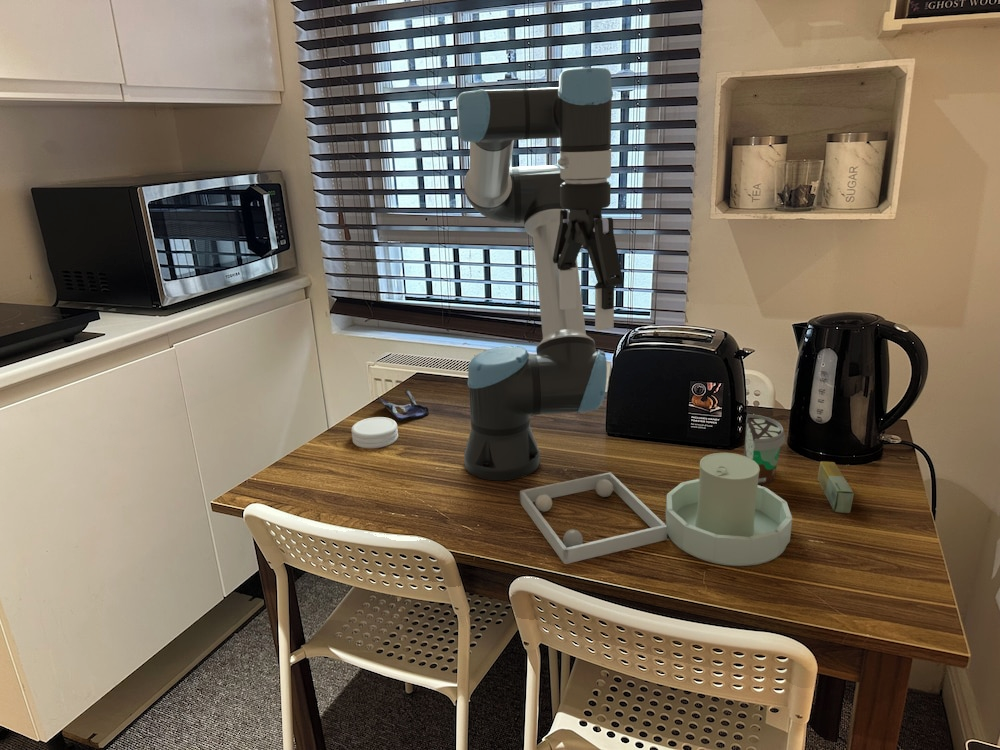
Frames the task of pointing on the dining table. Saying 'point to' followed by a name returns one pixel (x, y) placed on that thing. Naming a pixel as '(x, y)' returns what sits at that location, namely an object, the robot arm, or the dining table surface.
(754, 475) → the can
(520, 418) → the robot arm
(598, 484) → the light grey ball
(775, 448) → the food container
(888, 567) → the dining table surface
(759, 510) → the bowl
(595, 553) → the parts tray
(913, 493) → the dining table surface
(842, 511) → the medication box
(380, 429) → the round white tin
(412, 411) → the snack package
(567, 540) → the pebble
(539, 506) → the pebble
